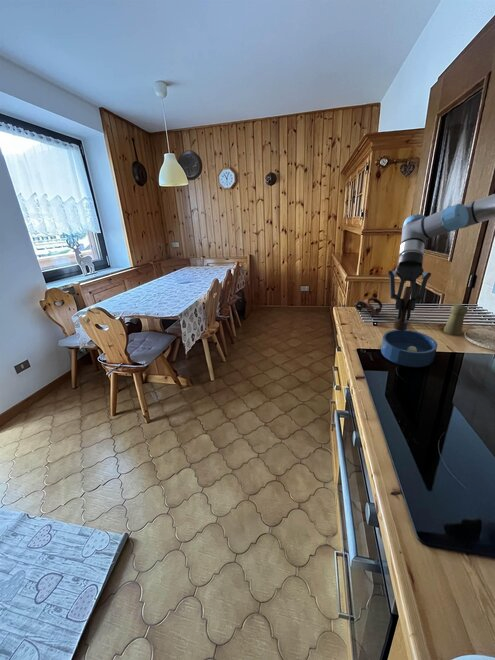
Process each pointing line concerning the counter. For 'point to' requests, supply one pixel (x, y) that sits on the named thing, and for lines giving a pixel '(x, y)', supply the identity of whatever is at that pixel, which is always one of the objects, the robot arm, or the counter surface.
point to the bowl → (401, 340)
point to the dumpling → (412, 349)
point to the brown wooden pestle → (403, 311)
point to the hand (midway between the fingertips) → (403, 318)
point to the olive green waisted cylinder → (455, 320)
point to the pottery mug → (369, 306)
